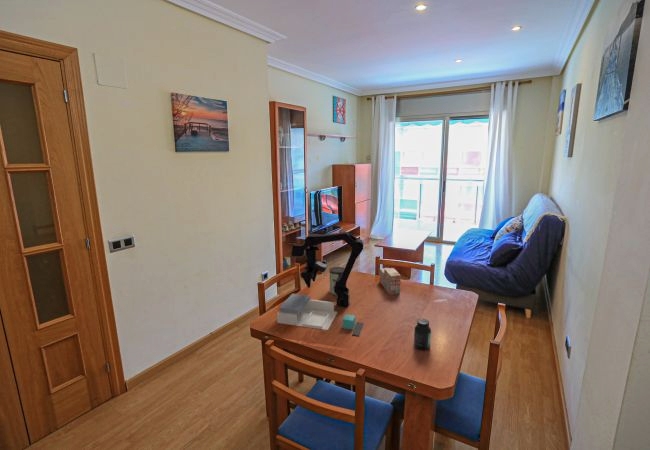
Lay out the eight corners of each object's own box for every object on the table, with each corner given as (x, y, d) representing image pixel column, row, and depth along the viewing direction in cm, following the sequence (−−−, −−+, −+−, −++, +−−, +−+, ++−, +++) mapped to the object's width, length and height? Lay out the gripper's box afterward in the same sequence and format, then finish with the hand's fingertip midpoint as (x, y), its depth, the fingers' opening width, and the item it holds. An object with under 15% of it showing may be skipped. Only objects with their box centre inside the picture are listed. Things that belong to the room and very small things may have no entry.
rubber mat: (363, 323, 166) (363, 322, 166) (359, 336, 155) (359, 335, 155) (340, 320, 170) (340, 319, 170) (333, 332, 158) (333, 331, 158)
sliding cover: (309, 298, 180) (309, 295, 179) (298, 314, 163) (298, 310, 163) (292, 296, 182) (292, 293, 182) (279, 311, 166) (279, 307, 165)
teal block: (355, 325, 164) (355, 315, 163) (352, 330, 159) (353, 320, 158) (345, 323, 165) (345, 314, 164) (342, 328, 161) (342, 319, 160)
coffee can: (345, 288, 210) (345, 266, 207) (346, 294, 200) (346, 272, 197) (329, 288, 210) (329, 266, 207) (329, 294, 200) (329, 272, 197)
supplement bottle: (433, 349, 144) (434, 324, 141) (418, 351, 142) (419, 326, 140) (425, 341, 150) (426, 316, 148) (411, 343, 149) (412, 318, 146)
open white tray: (337, 313, 177) (337, 302, 176) (327, 331, 159) (327, 319, 158) (291, 307, 184) (291, 297, 183) (277, 324, 166) (277, 312, 165)
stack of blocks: (379, 281, 220) (379, 263, 217) (388, 281, 221) (388, 263, 218) (390, 295, 199) (390, 275, 197) (400, 294, 200) (400, 274, 198)
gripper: (320, 264, 171) (320, 292, 174) (329, 253, 188) (329, 279, 192) (300, 262, 174) (300, 290, 177) (310, 252, 191) (311, 277, 194)
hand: (311, 284), depth 185 cm, fingers open, 9 cm apart
